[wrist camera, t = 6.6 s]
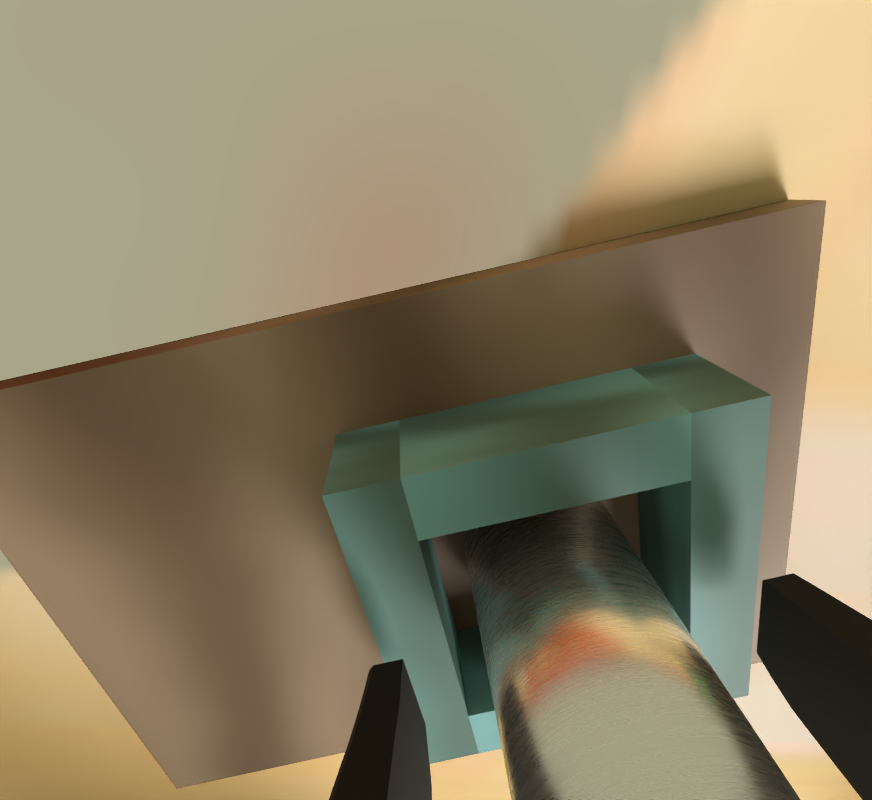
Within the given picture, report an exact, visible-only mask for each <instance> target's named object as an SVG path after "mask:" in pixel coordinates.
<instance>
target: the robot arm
mask: <svg viewBox="0 0 872 800" xmlns="http://www.w3.org/2000/svg"><path fill="white" fill-rule="evenodd" d="M757 654H758V656H759V657H760V659H761V661H762V662H763V664H764V665H765V667H766V669H767V670H768V672H769V674H770V675H771V677H772V678H773V680H774V682H775V683H776V685H777V686H778V688H779V689H780V691H781V693H782V694H783V696H784V697H785V699H786V700H787V702H788V703H789V705H790V706H791V708H792V709H793V711H794V712H795V713H796V715H797V716H798V717H799V719H800V720H801V721H802V722H803V724H804V725H805V726H806V728H807V729H808V730H809V732H810V733H811V734H812V735H813V737H814V738H815V739H816V741H817V742H818V743H819V744H820V746H821V747H822V748H823V750H824V751H825V752H826V754H827V755H828V756H829V757H830V759H831V760H832V761H833V762H834V764H835V765H836V766H837V768H838V769H839V770H840V771H841V773H842V774H843V775H844V777H845V778H846V779H847V780H848V782H849V783H850V784H851V785H852V787H853V788H854V789H855V791H856V792H857V793H858V794H859V796H860V797H861V798H862V800H872V620H871V619H869V618H867V617H866V616H864V615H862V614H861V613H859V612H857V611H856V610H854V609H852V608H851V607H849V606H847V605H846V604H844V603H842V602H841V601H839V600H837V599H836V598H834V597H832V596H831V595H829V594H827V593H826V592H824V591H822V590H821V589H819V588H817V587H816V586H814V585H812V584H811V583H809V582H807V581H805V580H804V579H802V578H800V577H799V576H797V575H795V574H789V575H784V576H779V577H775V578H770V579H766V580H762V592H761V604H760V616H759V628H758V640H757ZM329 800H432V786H431V775H430V764H429V754H428V744H427V734H426V724H425V721H424V718H423V715H422V713H421V710H420V707H419V704H418V701H417V698H416V695H415V692H414V689H413V686H412V684H411V681H410V678H409V675H408V672H407V669H406V666H405V663H404V660H403V659H400V660H395V661H391V662H386V663H382V664H377V665H373V666H372V667H371V669H370V670H369V672H368V676H367V681H366V685H365V688H364V692H363V696H362V699H361V703H360V707H359V710H358V714H357V717H356V720H355V724H354V727H353V730H352V733H351V736H350V740H349V743H348V746H347V749H346V752H345V755H344V758H343V761H342V764H341V766H340V769H339V772H338V775H337V778H336V781H335V784H334V787H333V790H332V793H331V795H330V798H329Z"/></svg>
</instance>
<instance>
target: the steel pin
mask: <svg viewBox="0 0 872 800" xmlns="http://www.w3.org/2000/svg"><path fill="white" fill-rule="evenodd" d="M464 549H465V557H466V562H467V568H468V573H469V578H470V583H471V589H472V594H473V599H474V604H475V610H476V615H477V620H478V625H479V631H480V636H481V641H482V646H483V652H484V657H485V662H486V667H487V673H488V678H489V683H490V688H491V694H492V699H493V704H494V709H495V715H496V720H497V725H498V730H499V736H500V741H501V746H502V751H503V757H504V762H505V767H506V772H507V778H508V783H509V788H510V793H511V799H512V800H800V798H799V797H798V795H797V794H796V792H795V791H794V789H793V788H792V786H791V785H790V783H789V782H788V780H787V779H786V777H785V776H784V774H783V773H782V771H781V770H780V768H779V767H778V765H777V764H776V762H775V761H774V759H773V758H772V756H771V755H770V753H769V752H768V750H767V749H766V747H765V746H764V744H763V743H762V741H761V740H760V738H759V737H758V735H757V734H756V732H755V731H754V729H753V728H752V726H751V725H750V723H749V722H748V720H747V719H746V717H745V716H744V714H743V713H742V711H741V710H740V708H739V707H738V705H737V704H736V702H735V701H734V699H733V698H732V696H731V695H730V693H729V692H728V690H727V688H726V687H725V685H724V684H723V682H722V681H721V679H720V678H719V676H718V675H717V673H716V672H715V670H714V669H713V667H712V666H711V664H710V663H709V661H708V660H707V658H706V657H705V655H704V654H703V652H702V651H701V649H700V648H699V646H698V645H697V643H696V642H695V640H694V639H693V637H692V636H691V634H690V633H689V631H688V630H687V628H686V627H685V625H684V624H683V622H682V621H681V619H680V618H679V616H678V615H677V613H676V612H675V610H674V609H673V607H672V606H671V604H670V603H669V601H668V600H667V598H666V597H665V595H664V594H663V592H662V591H661V589H660V588H659V586H658V585H657V583H656V582H655V580H654V579H653V577H652V576H651V574H650V573H649V571H648V570H647V568H646V567H645V565H644V564H643V562H642V561H641V559H640V558H639V556H638V555H637V553H636V552H635V550H634V549H633V547H632V545H631V544H630V542H629V541H628V539H627V538H626V536H625V535H624V533H623V532H622V530H621V529H620V527H619V526H618V524H617V523H616V521H615V520H614V518H613V517H612V515H611V514H610V512H609V511H608V509H607V508H606V506H605V505H604V504H603V502H602V501H596V502H592V503H587V504H583V505H578V506H574V507H569V508H565V509H560V510H556V511H551V512H547V513H542V514H538V515H533V516H529V517H524V518H520V519H515V520H511V521H506V522H502V523H497V524H493V525H488V526H484V527H479V528H475V529H470V530H467V533H466V538H465V548H464Z"/></svg>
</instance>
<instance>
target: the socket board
mask: <svg viewBox="0 0 872 800" xmlns="http://www.w3.org/2000/svg"><path fill="white" fill-rule="evenodd" d="M825 206H826V201H821V200H787V201H783V202H778V203H774V204H770V205H765V206H761V207H757V208H752V209H748V210H743V211H739V212H735V213H730V214H726V215H722V216H717V217H713V218H709V219H704V220H700V221H696V222H691V223H687V224H682V225H678V226H674V227H669V228H665V229H661V230H656V231H652V232H648V233H643V234H639V235H635V236H630V237H626V238H621V239H617V240H613V241H608V242H604V243H600V244H595V245H591V246H587V247H582V248H578V249H573V250H569V251H565V252H560V253H556V254H552V255H547V256H543V257H539V258H534V259H530V260H526V261H521V262H517V263H512V264H508V265H504V266H500V267H495V268H491V269H486V270H482V271H478V272H473V273H469V274H465V275H460V276H456V277H452V278H447V279H443V280H439V281H434V282H430V283H425V284H421V285H417V286H412V287H408V288H404V289H399V290H395V291H391V292H386V293H382V294H378V295H373V296H369V297H365V298H360V299H356V300H351V301H347V302H343V303H338V304H334V305H330V306H325V307H321V308H316V309H312V310H308V311H303V312H299V313H295V314H290V315H286V316H282V317H278V318H273V319H268V320H264V321H260V322H256V323H251V324H247V325H243V326H238V327H234V328H229V329H225V330H220V331H216V332H212V333H207V334H203V335H199V336H194V337H190V338H186V339H181V340H177V341H173V342H169V343H164V344H159V345H155V346H151V347H147V348H142V349H138V350H133V351H129V352H125V353H120V354H116V355H111V356H107V357H103V358H99V359H94V360H90V361H86V362H81V363H77V364H72V365H68V366H64V367H59V368H55V369H50V370H46V371H42V372H38V373H33V374H29V375H24V376H20V377H16V378H12V379H7V380H3V381H0V549H1V551H2V552H3V553H4V555H5V556H6V557H7V559H8V560H9V562H10V563H11V564H12V566H13V567H14V568H15V570H16V571H17V572H18V574H19V575H20V577H21V578H22V579H23V581H24V582H25V583H26V585H27V586H28V587H29V589H30V590H31V591H32V593H33V594H34V596H35V597H36V598H37V600H38V601H39V602H40V604H41V605H42V606H43V608H44V609H45V610H46V612H47V613H48V615H49V616H50V617H51V619H52V620H53V621H54V623H55V624H56V625H57V627H58V628H59V629H60V631H61V632H62V634H63V635H64V636H65V638H66V639H67V640H68V642H69V643H70V644H71V646H72V647H73V648H74V650H75V651H76V653H77V654H78V655H79V657H80V658H81V659H82V661H83V662H84V663H85V665H86V666H87V667H88V669H89V670H90V671H91V673H92V674H93V676H94V677H95V678H96V680H97V681H98V682H99V684H100V685H101V686H102V688H103V689H104V690H105V692H106V693H107V695H108V696H109V697H110V699H111V700H112V701H113V703H114V704H115V705H116V707H117V708H118V709H119V711H120V712H121V714H122V715H123V716H124V718H125V719H126V720H127V722H128V723H129V724H130V726H131V727H132V728H133V730H134V731H135V733H136V734H137V735H138V737H139V738H140V739H141V741H142V742H143V743H144V745H145V746H146V747H147V749H148V750H149V752H150V753H151V754H152V756H153V757H154V758H155V760H156V761H157V762H158V764H159V765H160V766H161V768H162V769H163V770H164V772H165V773H166V775H167V776H168V777H169V779H170V780H171V781H172V783H173V784H174V785H175V787H176V788H181V787H186V786H191V785H195V784H200V783H204V782H209V781H214V780H218V779H223V778H228V777H232V776H237V775H241V774H246V773H251V772H255V771H260V770H264V769H269V768H274V767H278V766H283V765H288V764H292V763H297V762H301V761H306V760H311V759H315V758H320V757H325V756H329V755H334V754H338V753H343V752H346V749H347V746H348V743H349V740H350V736H351V733H352V730H353V727H354V724H355V720H356V717H357V714H358V710H359V707H360V703H361V699H362V696H363V692H364V688H365V685H366V681H367V676H368V672H369V670H370V669H371V667H372V666H373V665H377V664H382V663H386V662H391V661H395V660H400V659H403V660H404V663H405V666H406V669H407V672H408V675H409V678H410V681H411V684H412V686H413V689H414V692H415V695H416V698H417V701H418V704H419V707H420V710H421V713H422V715H423V718H424V721H425V724H426V734H427V744H428V754H429V764H431V763H436V762H440V761H445V760H450V759H454V758H459V757H464V756H468V755H473V754H478V753H482V752H487V751H491V750H496V749H501V748H502V746H501V741H500V736H499V730H498V725H497V720H496V715H495V709H494V704H493V699H492V694H491V688H490V683H489V678H488V673H487V667H486V662H485V657H484V652H483V646H482V641H481V636H480V631H479V625H478V620H477V615H476V610H475V604H474V599H473V594H472V589H471V583H470V578H469V573H468V568H467V562H466V557H465V549H464V548H465V538H466V533H467V530H470V529H475V528H479V527H484V526H488V525H493V524H497V523H502V522H506V521H511V520H515V519H520V518H524V517H529V516H533V515H538V514H542V513H547V512H551V511H556V510H560V509H565V508H569V507H574V506H578V505H583V504H587V503H592V502H596V501H602V502H603V504H604V505H605V506H606V508H607V509H608V511H609V512H610V514H611V515H612V517H613V518H614V520H615V521H616V523H617V524H618V526H619V527H620V529H621V530H622V532H623V533H624V535H625V536H626V538H627V539H628V541H629V542H630V544H631V545H632V547H633V549H634V550H635V552H636V553H637V555H638V556H639V558H640V559H641V561H642V562H643V564H644V565H645V567H646V568H647V570H648V571H649V573H650V574H651V576H652V577H653V579H654V580H655V582H656V583H657V585H658V586H659V588H660V589H661V591H662V592H663V594H664V595H665V597H666V598H667V600H668V601H669V603H670V604H671V606H672V607H673V609H674V610H675V612H676V613H677V615H678V616H679V618H680V619H681V621H682V622H683V624H684V625H685V627H686V628H687V630H688V631H689V633H690V634H691V636H692V637H693V639H694V640H695V642H696V643H697V645H698V646H699V648H700V649H701V651H702V652H703V654H704V655H705V657H706V658H707V660H708V661H709V663H710V664H711V666H712V667H713V669H714V670H715V672H716V673H717V675H718V676H719V678H720V679H721V681H722V682H723V684H724V685H725V687H726V688H727V690H728V692H729V693H730V695H731V696H732V698H737V697H742V696H747V695H748V692H749V679H750V666H751V664H754V663H759V662H762V661H761V659H760V657H759V656H758V654H757V640H758V628H759V616H760V604H761V592H762V580H766V579H770V578H775V577H779V576H784V575H786V565H787V556H788V547H789V538H790V529H791V519H792V510H793V501H794V492H795V483H796V473H797V464H798V455H799V446H800V436H801V427H802V418H803V409H804V400H805V390H806V381H807V372H808V363H809V354H810V344H811V335H812V326H813V317H814V308H815V298H816V289H817V280H818V271H819V262H820V252H821V243H822V234H823V225H824V216H825Z"/></svg>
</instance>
